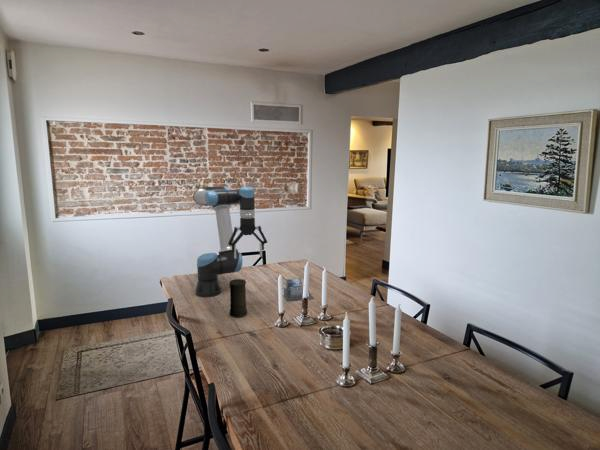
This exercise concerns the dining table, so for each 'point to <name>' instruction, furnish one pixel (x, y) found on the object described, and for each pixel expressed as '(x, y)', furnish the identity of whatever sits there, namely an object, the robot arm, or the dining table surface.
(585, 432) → the dining table surface
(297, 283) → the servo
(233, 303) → the container
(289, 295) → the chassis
